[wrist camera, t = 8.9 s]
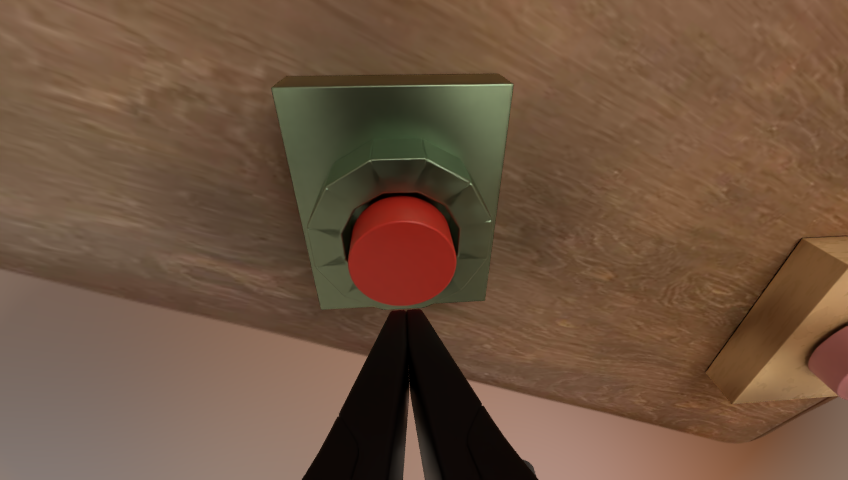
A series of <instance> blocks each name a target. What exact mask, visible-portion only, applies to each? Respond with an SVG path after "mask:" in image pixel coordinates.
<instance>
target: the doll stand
mask: <svg viewBox="0 0 848 480" xmlns="http://www.w3.org/2000/svg"><path fill="white" fill-rule="evenodd" d="M846 326H848V236H842V237H821V238H803V239H802V240H801V241H800V242H799V244H798V245H797V247H796V248H795V249H794V251H793V252H792V254H791V255H790V256H789V258H788V259H787V260H786V262H785V263H784V265H783V266H782V267H781V269H780V270H779V272H778V273H777V274H776V276H775V277H774V278H773V280H772V281H771V283H770V284H769V285H768V287H767V288H766V290H765V291H764V292H763V294H762V295H761V297H760V298H759V299H758V301H757V302H756V303H755V305H754V306H753V308H752V309H751V310H750V312H749V313H748V315H747V316H746V317H745V319H744V320H743V321H742V323H741V324H740V326H739V327H738V328H737V330H736V331H735V333H734V334H733V335H732V337H731V338H730V339H729V341H728V342H727V344H726V345H725V346H724V348H723V349H722V351H721V352H720V353H719V355H718V356H717V358H716V359H715V360H714V362H713V363H712V364H711V366H710V367H709V369H708V370H707V371H706V374H707V375H708V376H709V378H710V379H711V380H712V381H713V382H714V384H715V385H716V386H717V387H718V388H719V389H720V391H721V392H722V393H723V394H724V395H725V397H726V398H727V399H728V400H729V401H730V402H731V404H741V403H754V402H767V401H780V400H792V399H805V398H818V397H831V396H838V395H837V394H836V393H835V392H833V391H832V390H831V389H830V388H829V387H828V386H827V385H825V384H824V383H823V382H822V381H821V380H820V379H819V378H818V377H816V376H815V375H814V374H813V373H812V372H811V371H810V369H809V367H808V362H809V359H810V357H811V355H812V353H813V352H814V351H815V350H816V348H817V347H818V346H819V345H820V344H821V343H823V342H824V341H825V340H826V339H827V338H829V337H830V336H831V335H833V334H834V333H836V332H837V331H839V330H841V329H842V328H844V327H846Z"/></svg>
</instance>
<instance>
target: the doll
mask: <svg viewBox="0 0 848 480" xmlns="http://www.w3.org/2000/svg"><path fill="white" fill-rule="evenodd" d="M808 367H809V369H810V371H811V372H812V373H813V374H814V375H815V376H816V377H818V378H819V379H820V380H821V381H822V382H823V383H824V384H825V385H827V386H828V387H829V388H830V389H831V390H832V391H833V392H835V393H836V394H837V395H838V396H839V397H841V398H842V399H845V400H848V326H846V327H844V328H842V329H841V330H839V331H837V332H836V333H834V334H833V335H831V336H830V337H829V338H827V339H826V340H825V341H824V342H823V343H821V344H820V345H819V346H818V347H817V348H816V350H815V351H814V352H813V353H812V355H811V357H810V359H809V362H808Z"/></svg>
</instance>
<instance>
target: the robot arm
mask: <svg viewBox="0 0 848 480" xmlns="http://www.w3.org/2000/svg"><path fill="white" fill-rule="evenodd" d="M406 320H407V321H406ZM408 365H409V367H408ZM409 385H410V394H411V400H412V407H413V413H414V418H415V424H416V430H417V436H418V442H419V448H420V454H421V459H422V465H423V471H424V477H425V480H538V479H537V477H536V476H535V474H534V473H533V472H532V471H531V470H530V469H529V468H528V466H527V465H526V464H525V463H524V461H523V460H522V459H521V458H520V457H519V455H518V454H517V453H516V451H515V450H514V449H513V448H512V446H511V445H510V444H509V442H508V441H507V440H506V438H505V437H504V436H503V434H502V433H501V431H500V430H499V428H498V427H497V426H496V424H495V423H494V421H493V420H492V418H491V417H490V415H489V414H488V412H487V411H486V409H485V407H484V406H482V403H481V401H480V400H479V398H478V397H477V395H476V394H475V392H474V391H473V389H472V387H471V386H470V384H469V383H468V381H467V380H466V378H465V377H464V375H463V373H462V372H461V370H460V369H459V367H458V366H457V364H456V363H455V361H454V360H453V358H452V356H451V355H450V353H449V352H448V350H447V349H446V347H445V346H444V344H443V342H442V341H441V339H440V338H439V336H438V335H437V333H436V332H435V330H434V328H433V327H432V325H431V324H430V322H429V321H428V319H427V318H426V316H425V314H424V313H423V311H422V310H420V309H412V310H407V311H405V310H395V311H391V312H390V314H389V316H388V318H387V320H386V322H385V324H384V325H383V327H382V329H381V331H380V333H379V335H378V337H377V339H376V341H375V343H374V345H373V347H372V349H371V351H370V353H369V355H368V357H367V359H366V361H365V363H364V365H363V367H362V369H361V371H360V373H359V375H358V377H357V379H356V381H355V383H354V385H353V387H352V389H351V391H350V393H349V395H348V397H347V399H346V401H345V403H344V405H343V407H342V409H341V411H340V413H339V417H337V419H336V421H335V422H334V424H333V427H332V428H331V430H330V432H329V434H328V436H327V438H326V440H325V442H324V443H323V445H322V447H321V449H320V451H319V453H318V454H317V456H316V458H315V459H314V461H313V463H312V464H311V466H310V467H309V469H308V471H307V472H306V474H305V475H304V477H303V478H302V480H403V470H404V456H405V443H406V430H407V416H408V403H409Z"/></svg>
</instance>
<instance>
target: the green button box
mask: <svg viewBox="0 0 848 480" xmlns="http://www.w3.org/2000/svg"><path fill="white" fill-rule="evenodd" d="M513 86H514V85H513V83H511V82H510V81H508V80H507V79H505V78H504V77H503V76H501V75H500V74H429V75H347V76H286V77H285V78H283V79H282V80H281V81H279V82H278V83H277V84H275V85H274V86H273V87H272V88H271V89H272V94H273V98H274V103H275V107H276V112H277V116H278V121H279V125H280V129H281V134H282V138H283V143H284V147H285V152H286V156H287V161H288V165H289V170H290V174H291V178H292V183H293V187H294V192H295V196H296V201H297V205H298V210H299V214H300V219H301V223H302V227H303V232H304V236H305V241H306V245H307V250H308V254H309V259H310V263H311V268H312V272H313V277H314V281H315V285H316V290H317V294H318V299H319V303H320V308H321V309H322V310H324V309H342V308H360V307H376V308H379V309H382V310H383V309H384V310H391V309H409V308H424V307H427V306H429V305H432V304H434V303H451V302H469V301H484V300H485V296H486V288H487V281H488V273H489V266H490V258H491V251H492V243H493V236H494V228H495V221H496V213H497V206H498V198H499V191H500V183H501V176H502V168H503V161H504V153H505V146H506V138H507V131H508V123H509V116H510V108H511V101H512V93H513ZM392 196H411V197H416V198H420V199H422V200H425V201H427V202H428V203H430V204H432V205H433V206H435V207H436V208H437V209H438V210H439V211H440V212H441V213H442V214H443V216H444V217H445V219H446V221H447V223H448V226H449V229H450V233H451V237H452V241H453V245H454V249H455V253H456V261H457V264H456V270H455V273H454V275H453V278H452V280H451V281H450V283H449V284H448V286H447V287H446V288H445V289H444V290H443V291H442V292H441V293H439V294H438V295H436V296H435V297H433V298H431V299H430V300H427V301H425V302H422V303H419V304H415V305H409V306H393V305H387V304H383V303H379V302H377V301H375V300H372V299H371V298H369V297H367V296H366V295H364V294H363V293H362V292H361V291H360V290H359V289H358V288H357V287H356V286H355V284H354V282H353V281H352V279H351V277H350V274H349V270H348V256H349V250H350V244H351V238H352V232H353V228H354V225H355V222H356V220H357V219H358V217H359V216H360V214H361V213H362V212H363V211H364V210H365V209H366V208H367V207H369V206H370V205H372V204H373V203H375V202H377V201H379V200H381V199H384V198H388V197H392Z"/></svg>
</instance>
